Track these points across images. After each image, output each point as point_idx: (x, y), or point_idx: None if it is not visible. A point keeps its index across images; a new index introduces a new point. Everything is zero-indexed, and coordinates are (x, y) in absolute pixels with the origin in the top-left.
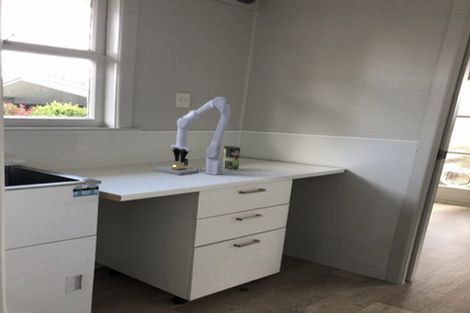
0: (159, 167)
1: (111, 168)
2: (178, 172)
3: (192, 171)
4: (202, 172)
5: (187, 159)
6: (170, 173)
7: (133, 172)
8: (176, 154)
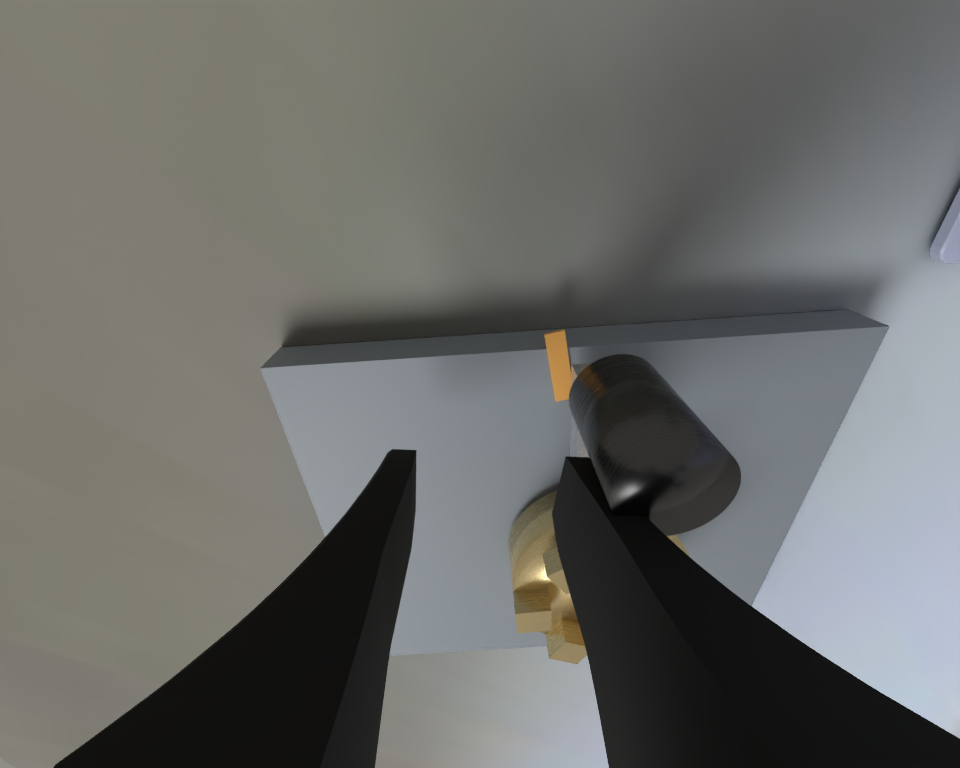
0: None
1: None
2: None
3: (814, 458)
4: (938, 260)
5: (724, 487)
6: None
7: (400, 734)
8: (381, 685)
